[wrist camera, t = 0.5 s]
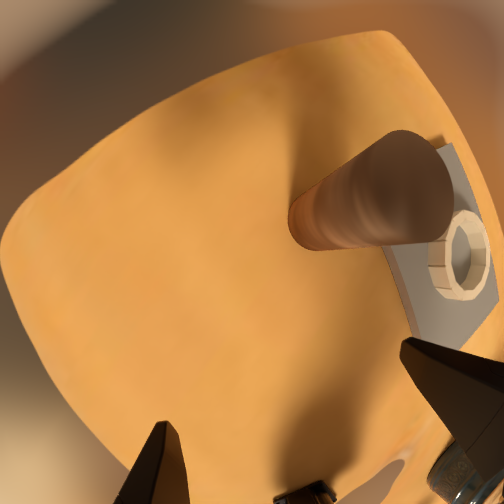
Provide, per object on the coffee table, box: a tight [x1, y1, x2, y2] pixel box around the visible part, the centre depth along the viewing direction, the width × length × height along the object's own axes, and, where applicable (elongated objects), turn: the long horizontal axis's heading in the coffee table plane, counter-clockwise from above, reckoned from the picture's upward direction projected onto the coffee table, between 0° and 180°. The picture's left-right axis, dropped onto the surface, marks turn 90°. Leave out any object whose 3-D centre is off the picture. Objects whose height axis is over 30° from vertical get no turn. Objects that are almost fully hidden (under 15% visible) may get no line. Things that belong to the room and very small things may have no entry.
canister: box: [427, 441, 504, 504], centre depth 17 cm, size 13×13×18 cm
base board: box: [382, 143, 499, 350], centre depth 23 cm, size 22×16×4 cm
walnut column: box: [288, 130, 454, 251], centre depth 16 cm, size 5×5×13 cm
